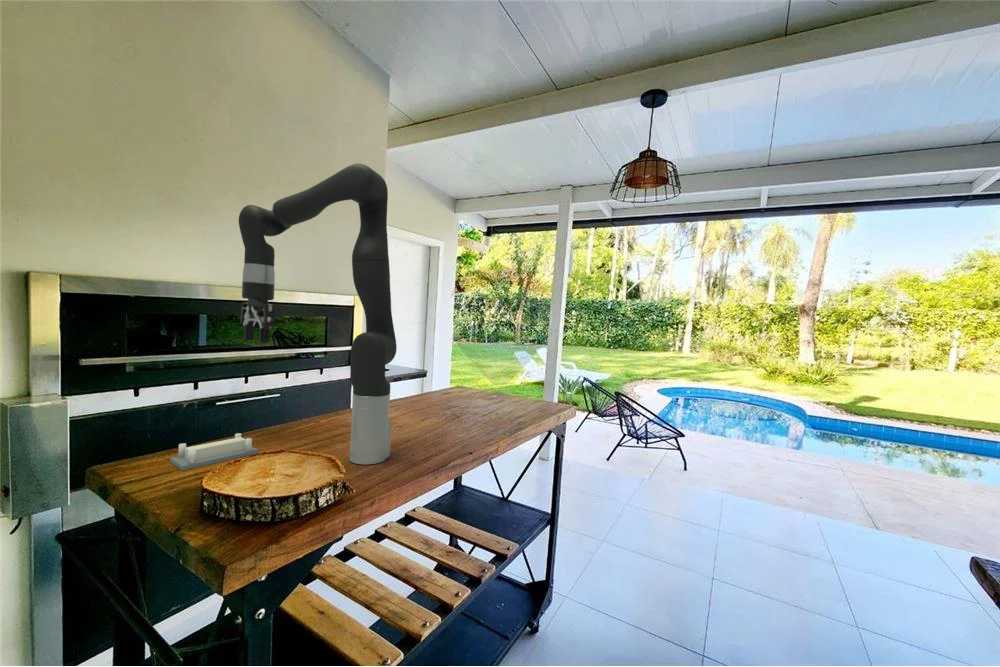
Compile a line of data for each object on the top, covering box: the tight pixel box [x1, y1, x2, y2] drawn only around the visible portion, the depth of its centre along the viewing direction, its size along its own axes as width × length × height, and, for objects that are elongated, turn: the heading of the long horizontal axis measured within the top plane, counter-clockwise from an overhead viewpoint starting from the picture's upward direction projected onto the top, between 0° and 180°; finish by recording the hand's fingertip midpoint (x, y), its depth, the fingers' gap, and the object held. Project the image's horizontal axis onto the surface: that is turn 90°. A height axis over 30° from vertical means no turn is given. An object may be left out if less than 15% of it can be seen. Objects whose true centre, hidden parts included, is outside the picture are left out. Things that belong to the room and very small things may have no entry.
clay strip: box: [185, 436, 246, 460], centre depth 99 cm, size 12×3×2 cm, turn 146°
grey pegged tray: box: [169, 432, 259, 472], centre depth 99 cm, size 16×8×4 cm, turn 146°
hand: (256, 341), depth 110 cm, fingers open, 8 cm apart
